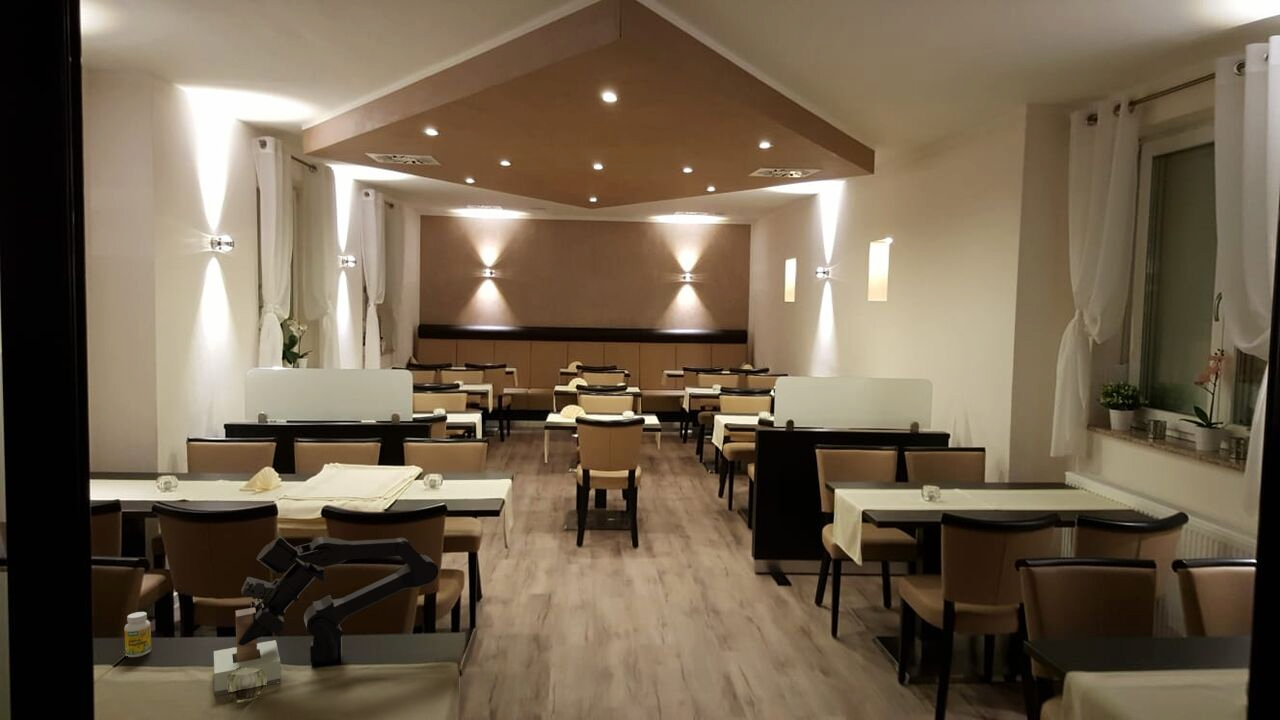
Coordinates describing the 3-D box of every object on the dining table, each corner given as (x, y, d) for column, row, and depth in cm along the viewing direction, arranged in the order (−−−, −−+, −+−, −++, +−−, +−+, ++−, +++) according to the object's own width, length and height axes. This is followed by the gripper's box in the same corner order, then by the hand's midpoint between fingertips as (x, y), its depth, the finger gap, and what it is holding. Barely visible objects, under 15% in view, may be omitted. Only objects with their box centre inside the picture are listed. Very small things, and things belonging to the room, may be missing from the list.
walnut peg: (256, 662, 177) (255, 607, 177) (257, 669, 174) (256, 613, 173) (237, 666, 175) (235, 610, 175) (237, 673, 172) (236, 616, 171)
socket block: (276, 660, 184) (275, 640, 183) (280, 682, 172) (280, 660, 172) (214, 672, 177) (213, 651, 177) (214, 696, 166) (214, 673, 166)
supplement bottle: (151, 646, 191) (150, 609, 190) (151, 654, 186) (150, 615, 186) (125, 651, 188) (124, 613, 188) (124, 659, 184) (123, 620, 183)
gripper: (261, 554, 184) (209, 607, 179) (266, 576, 167) (210, 636, 162) (297, 580, 188) (248, 633, 183) (306, 605, 172) (252, 664, 167)
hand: (239, 640), depth 174 cm, fingers closed on walnut peg, 4 cm apart
